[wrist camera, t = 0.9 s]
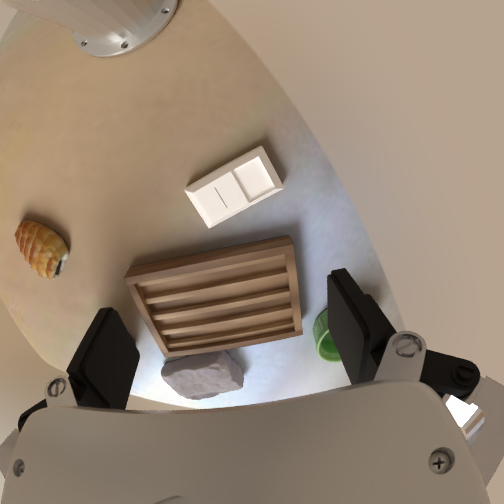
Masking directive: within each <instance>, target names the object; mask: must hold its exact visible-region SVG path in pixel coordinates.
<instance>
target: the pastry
mask: <svg viewBox="0 0 504 504" xmlns="http://www.w3.org/2000/svg"><path fill="white" fill-rule="evenodd" d="M15 237H16V242H17V244H18V246H19V248H20V252H21V253H22V254H24V256H25V260H26V261H27V262H29V263H30V265H31V268H32V269H33V270H37V271H38V273H39V275H40V276H41V277H48V278H49V280H55V279H57V278H58V277H59V274H60V271H61V270H63V268H64V264H65V260H66V259H67V258H68V255H69V252H68V249H67V247H66V245H65V242H64V241H63V239H62V238H61V236H59V235H57V234H56V233H55V231H53V230H51V229H50V228H48V227H46V226H44V225H41V224H39V223H37V222H35V221H32V220H26V221H23V222H22V223H21V224H20V225H19V226H18V229H17V231H16V233H15Z"/></svg>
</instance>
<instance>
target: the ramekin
mask: <svg viewBox="0 0 504 504" xmlns="http://www.w3.org/2000/svg"><path fill="white" fill-rule="evenodd" d="M313 333H314V338H315V342H316V349H317V354H318V356H319V357H320V358H321V359H322V360H324V361H327V362H342V360H341V358H340V355H339V353H338V351H337V348H336V346H335V344H334V341H333V339H332V337H331V334H330V332H329V329H328V309H326V310H325V311H323V312H322V313H321V314H320V315H319V316H318V318H317V319H316V321H315V323H314V327H313Z"/></svg>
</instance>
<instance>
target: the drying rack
mask: <svg viewBox="0 0 504 504" xmlns="http://www.w3.org/2000/svg"><path fill="white" fill-rule="evenodd" d="M124 280H125V282H126V285H127V287H128V289H129V291H130V293H131V295H132V297H133V299H134V301H135V303H136V305H137V307H138V309H139V311H140V313H141V315H142V317H143V319H144V321H145V323H146V325H147V327H148V329H149V330H150V332H151V334H152V336H153V338H154V339H155V341H156V343H157V345H158V347H159V348H160V350H161V352H162V353H163V355H164V357H174V356H183V355H191V354H199V353H206V352H213V351H220V350H227V349H233V348H239V347H245V346H250V345H256V344H261V343H266V342H271V341H276V340H281V339H286V338H290V337H295V336H299V335H303V331H302V320H301V309H300V299H299V289H298V280H297V271H296V262H295V254H294V245H293V243H292V241H291V239H290V237H289V235H286V236H281V237H276V238H271V239H266V240H261V241H256V242H251V243H246V244H241V245H236V246H232V247H227V248H222V249H217V250H212V251H207V252H202V253H197V254H193V255H188V256H183V257H178V258H173V259H169V260H164V261H159V262H154V263H150V264H145V265H140V266H136V267H131V268H129V270H128V272H127V273H126V275H125V277H124Z"/></svg>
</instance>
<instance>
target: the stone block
mask: <svg viewBox="0 0 504 504" xmlns="http://www.w3.org/2000/svg"><path fill="white" fill-rule="evenodd" d="M161 376H162V378H163V380H164V381H165V382H166V383H167V384H168V385H170V386H171V387H172V388H173V389H174V390H175V391H176V392H177V393H178V394H179V395H181V396H183V397H185V398H187V399H192V400H201V399H203V398H210V397H214V396H216V395H218V394H220V393H225V392H228V391H234V390H238V389H241V388H242V387H243V381H244V375H243V371H242V369H241V366H240V365H239V364H238V363H237V362H236V361H235V360H233V359H232V358H231V356H230V355H229V354H228V353H227V352H226V351H225V350H220V351H213V352H206V353H199V354H194V355H191V356H188V357H185V358H182V359H177V360H174V361H171V362H168V363H166V364H165V365H164V366H163V368H162V370H161Z"/></svg>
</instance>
